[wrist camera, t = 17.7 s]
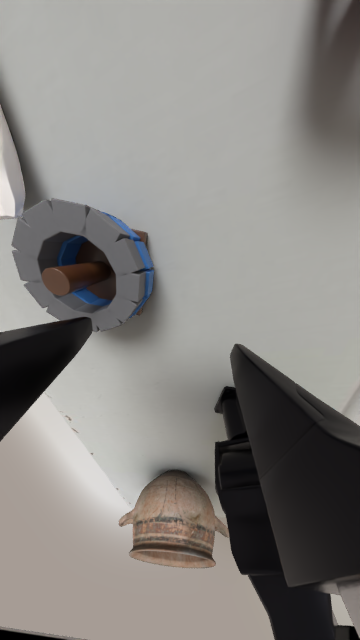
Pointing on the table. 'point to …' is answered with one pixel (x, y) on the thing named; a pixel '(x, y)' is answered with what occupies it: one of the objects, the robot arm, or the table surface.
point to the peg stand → (86, 273)
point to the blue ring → (74, 243)
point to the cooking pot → (174, 523)
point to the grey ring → (43, 248)
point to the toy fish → (10, 175)
